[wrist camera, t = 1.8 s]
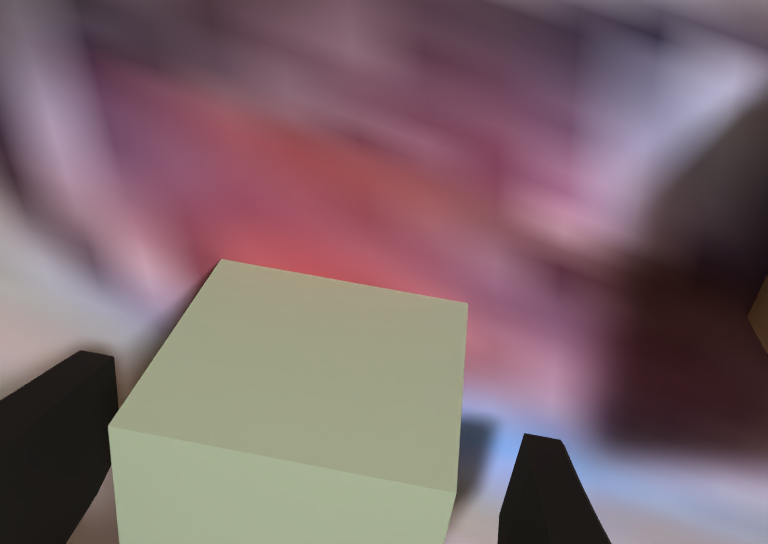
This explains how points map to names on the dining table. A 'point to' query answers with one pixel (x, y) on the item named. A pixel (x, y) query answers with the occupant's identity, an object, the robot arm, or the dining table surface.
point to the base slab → (761, 315)
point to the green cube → (294, 416)
